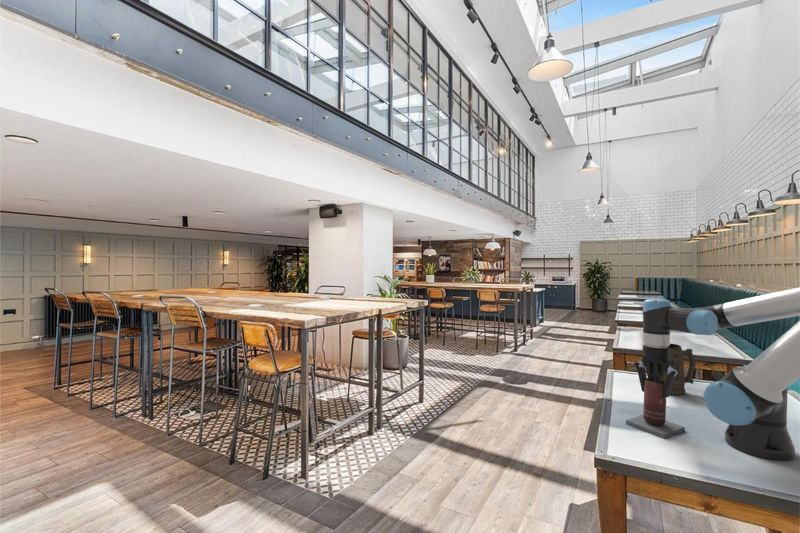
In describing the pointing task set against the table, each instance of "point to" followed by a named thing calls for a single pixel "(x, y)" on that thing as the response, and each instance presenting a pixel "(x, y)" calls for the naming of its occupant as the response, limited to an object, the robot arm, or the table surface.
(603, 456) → the table surface
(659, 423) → the can
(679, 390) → the beer stein
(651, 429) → the mat
